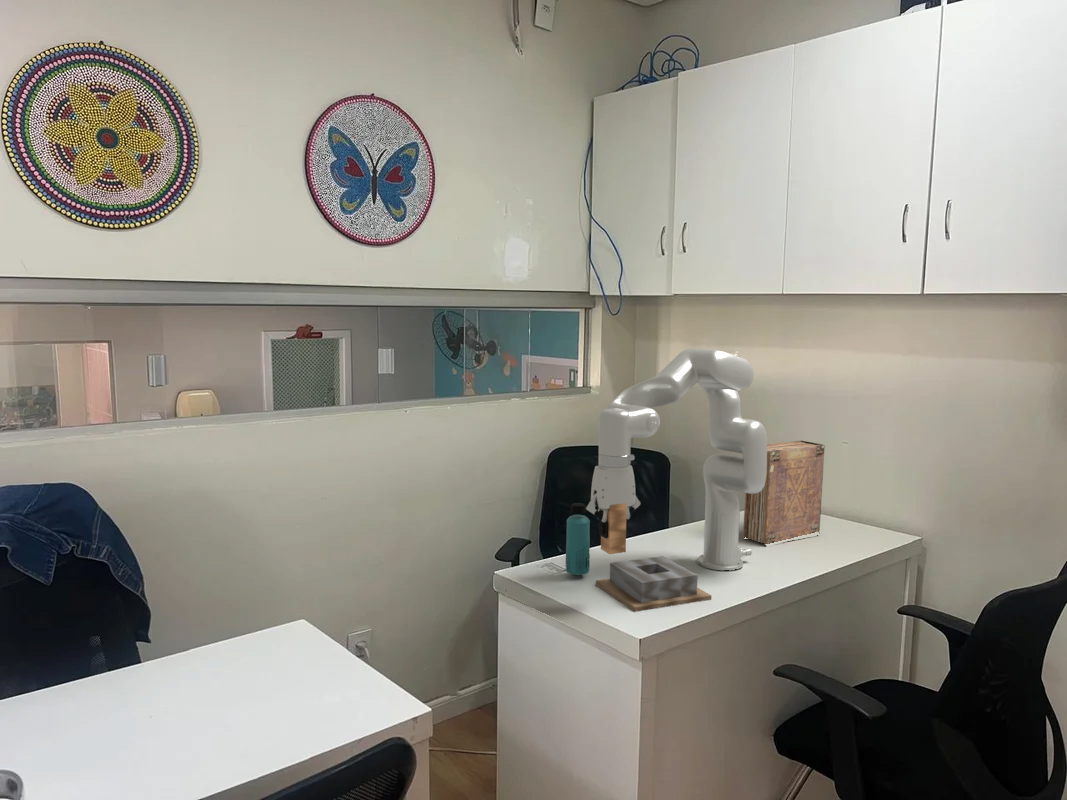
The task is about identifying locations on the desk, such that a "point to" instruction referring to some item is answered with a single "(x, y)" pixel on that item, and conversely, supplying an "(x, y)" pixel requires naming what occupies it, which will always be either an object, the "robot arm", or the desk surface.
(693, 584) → the socket board
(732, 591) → the desk surface
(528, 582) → the desk surface
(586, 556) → the beverage bottle
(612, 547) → the peg
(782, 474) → the book
